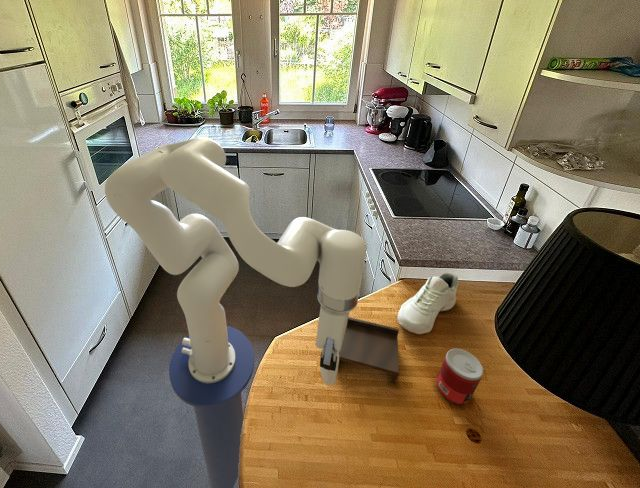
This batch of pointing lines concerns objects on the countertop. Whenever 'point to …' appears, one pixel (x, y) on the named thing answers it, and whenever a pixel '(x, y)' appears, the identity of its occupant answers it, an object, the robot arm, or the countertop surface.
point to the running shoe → (428, 303)
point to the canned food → (459, 376)
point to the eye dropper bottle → (329, 373)
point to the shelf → (371, 346)
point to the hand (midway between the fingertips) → (330, 353)
